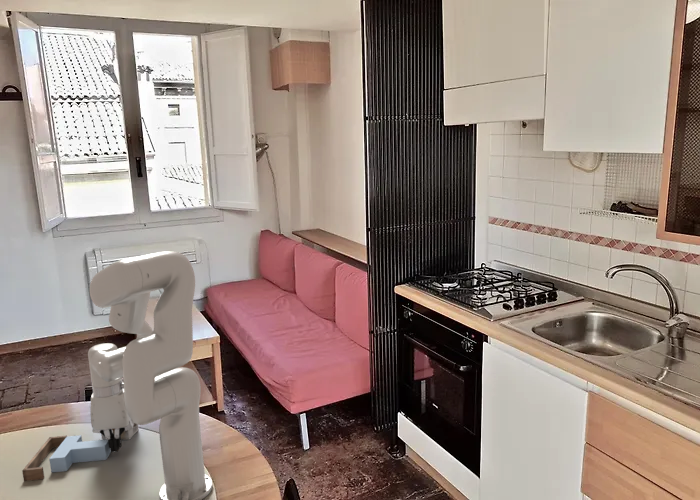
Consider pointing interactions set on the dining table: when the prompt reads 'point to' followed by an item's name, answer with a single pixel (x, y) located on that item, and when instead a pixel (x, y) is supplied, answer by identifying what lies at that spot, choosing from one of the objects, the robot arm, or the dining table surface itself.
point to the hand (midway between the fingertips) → (115, 449)
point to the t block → (78, 452)
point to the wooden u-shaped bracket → (40, 459)
